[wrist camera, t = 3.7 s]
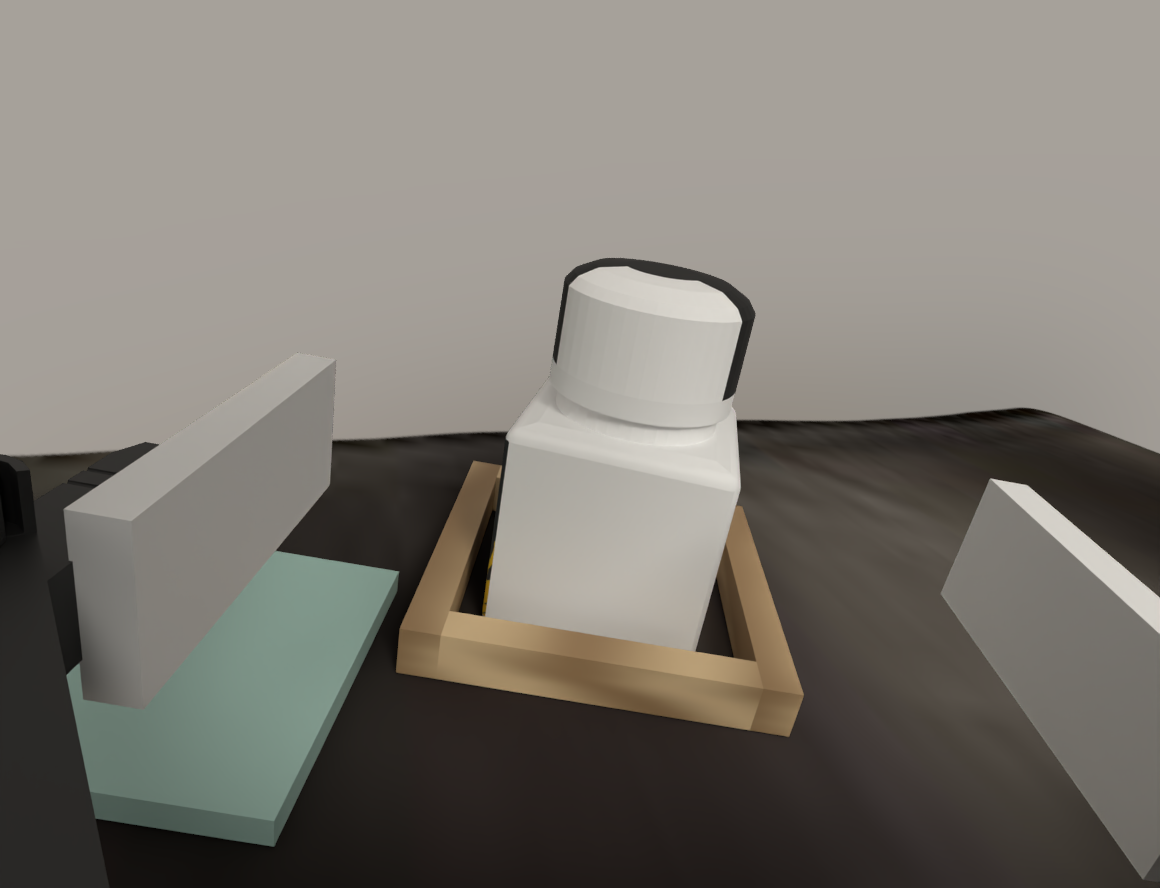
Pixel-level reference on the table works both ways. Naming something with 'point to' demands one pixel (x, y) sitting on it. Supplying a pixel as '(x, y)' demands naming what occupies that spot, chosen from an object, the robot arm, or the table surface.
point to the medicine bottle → (624, 459)
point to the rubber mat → (239, 706)
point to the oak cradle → (601, 639)
